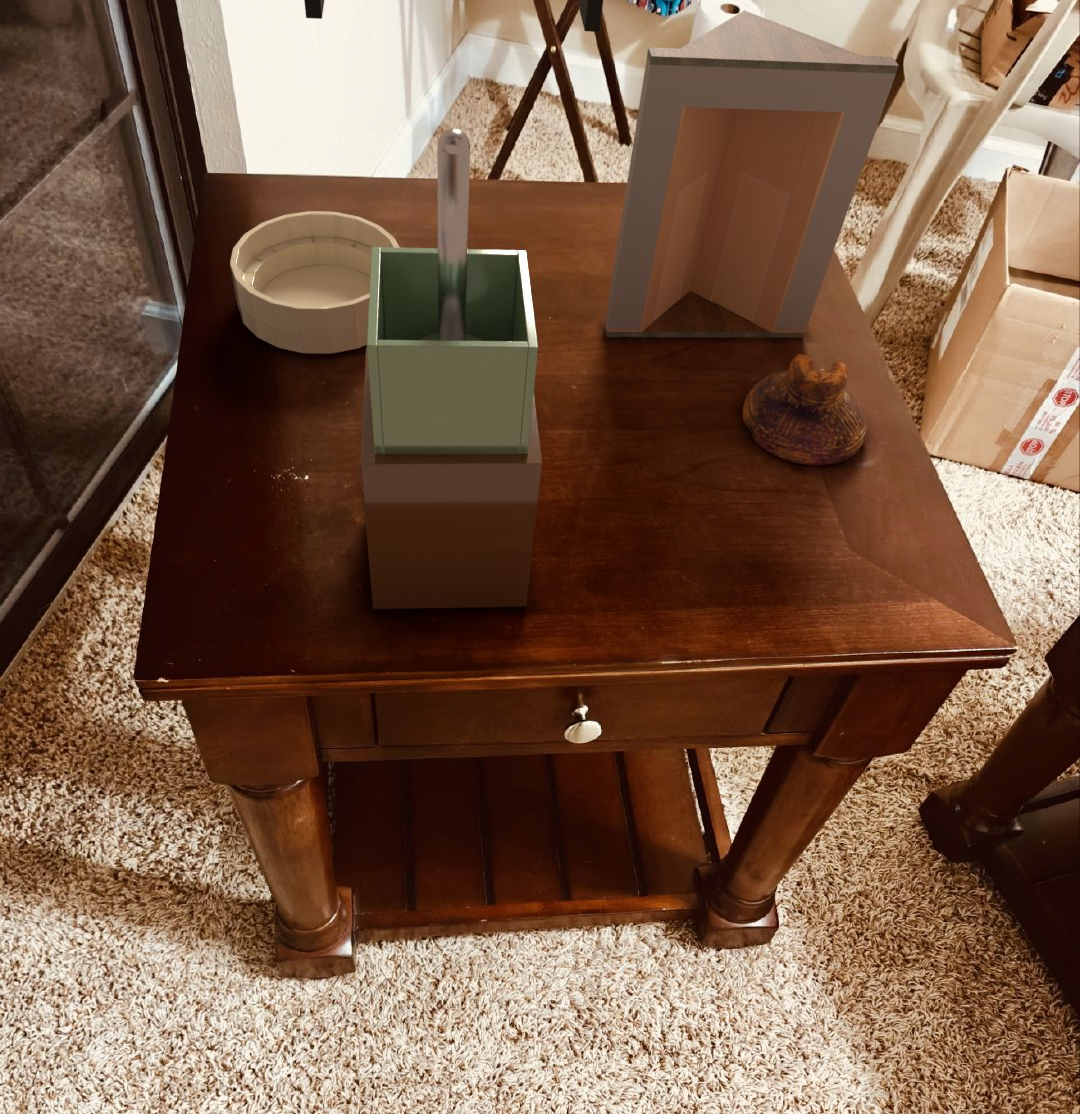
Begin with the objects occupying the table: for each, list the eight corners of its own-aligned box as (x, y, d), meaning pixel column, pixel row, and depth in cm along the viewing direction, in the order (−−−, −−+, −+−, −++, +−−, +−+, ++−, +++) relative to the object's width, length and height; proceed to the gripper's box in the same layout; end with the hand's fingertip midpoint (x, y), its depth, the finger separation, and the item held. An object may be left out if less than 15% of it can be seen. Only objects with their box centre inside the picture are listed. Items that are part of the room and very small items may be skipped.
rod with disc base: (407, 423, 66) (398, 156, 52) (407, 365, 70) (399, 101, 56) (496, 423, 67) (512, 160, 53) (492, 365, 71) (505, 105, 56)
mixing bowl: (231, 359, 94) (220, 307, 90) (249, 260, 105) (240, 208, 100) (403, 361, 96) (401, 310, 92) (404, 263, 106) (402, 213, 102)
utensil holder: (372, 609, 77) (350, 355, 58) (376, 496, 85) (358, 238, 65) (526, 606, 78) (554, 357, 59) (516, 495, 86) (538, 242, 67)
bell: (718, 429, 93) (736, 368, 88) (778, 368, 100) (798, 308, 94) (828, 488, 89) (854, 429, 84) (883, 421, 96) (911, 362, 90)
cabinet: (606, 336, 101) (651, 56, 79) (594, 280, 107) (633, 5, 86) (803, 337, 104) (898, 65, 82) (780, 282, 110) (863, 15, 88)
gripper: (794, -616, 37) (685, -6, 53) (95, -702, 34) (206, -30, 50) (850, -611, 32) (712, 58, 48) (44, -710, 29) (185, 34, 46)
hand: (454, 14), depth 49 cm, fingers open, 13 cm apart
